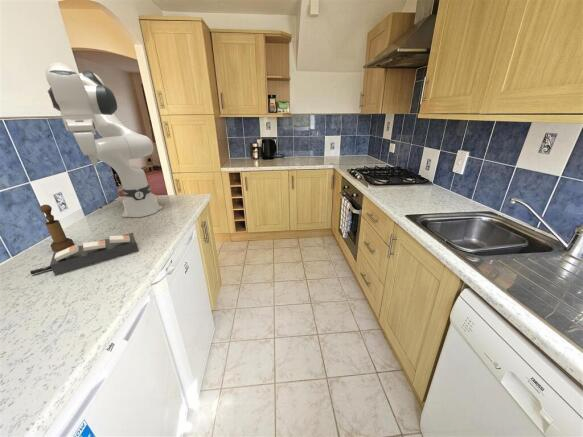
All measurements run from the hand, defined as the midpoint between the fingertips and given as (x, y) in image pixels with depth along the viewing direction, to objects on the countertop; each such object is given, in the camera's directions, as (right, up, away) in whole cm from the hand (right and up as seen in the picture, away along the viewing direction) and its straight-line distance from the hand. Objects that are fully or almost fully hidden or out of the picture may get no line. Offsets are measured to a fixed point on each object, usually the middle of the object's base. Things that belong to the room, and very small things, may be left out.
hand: (95, 165), depth 88 cm
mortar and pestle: (-19, -31, +8) cm, 37 cm away
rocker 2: (+8, -27, +1) cm, 28 cm away
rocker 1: (-4, -31, -7) cm, 32 cm away
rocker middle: (+2, -29, -3) cm, 29 cm away
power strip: (-2, -34, -1) cm, 34 cm away
